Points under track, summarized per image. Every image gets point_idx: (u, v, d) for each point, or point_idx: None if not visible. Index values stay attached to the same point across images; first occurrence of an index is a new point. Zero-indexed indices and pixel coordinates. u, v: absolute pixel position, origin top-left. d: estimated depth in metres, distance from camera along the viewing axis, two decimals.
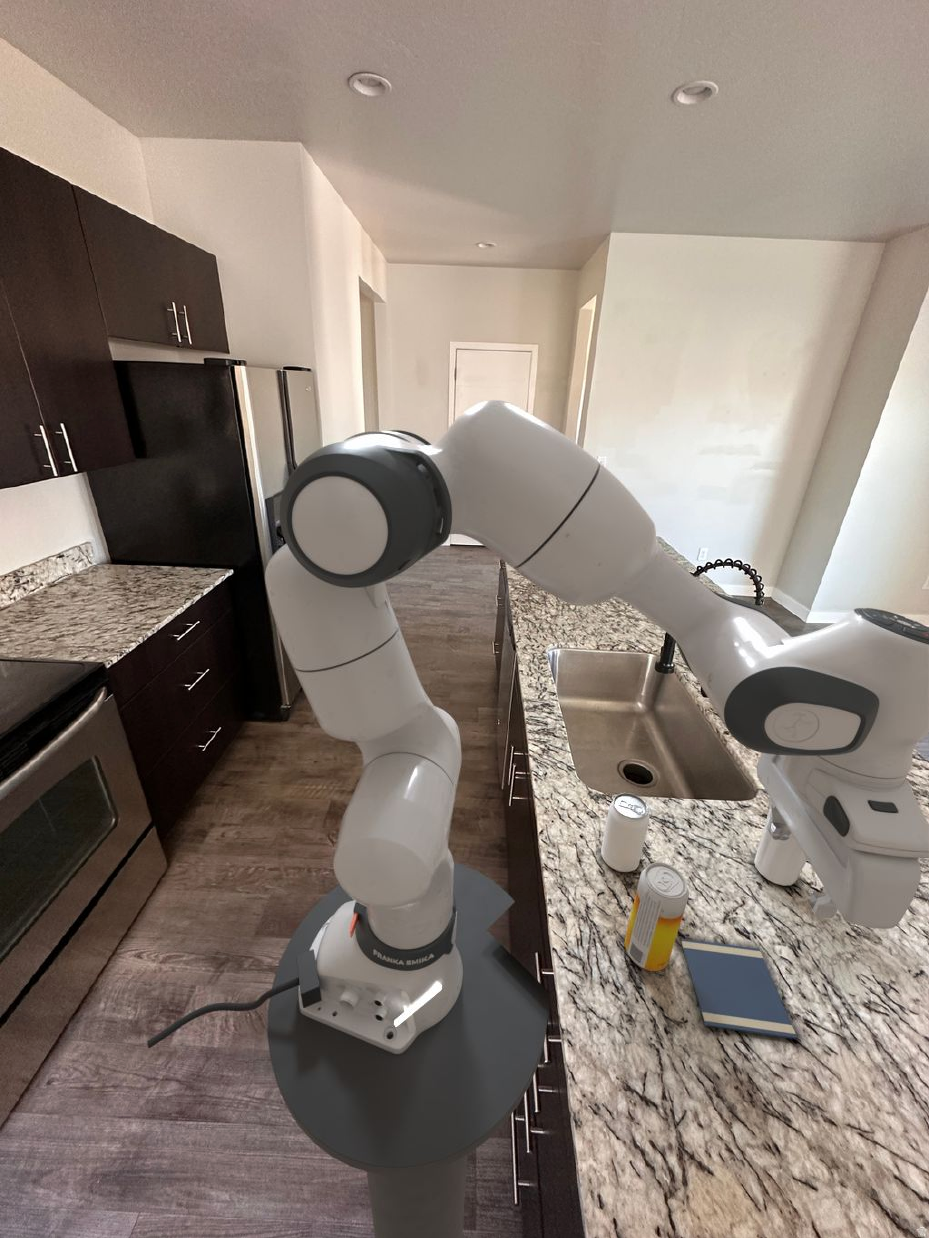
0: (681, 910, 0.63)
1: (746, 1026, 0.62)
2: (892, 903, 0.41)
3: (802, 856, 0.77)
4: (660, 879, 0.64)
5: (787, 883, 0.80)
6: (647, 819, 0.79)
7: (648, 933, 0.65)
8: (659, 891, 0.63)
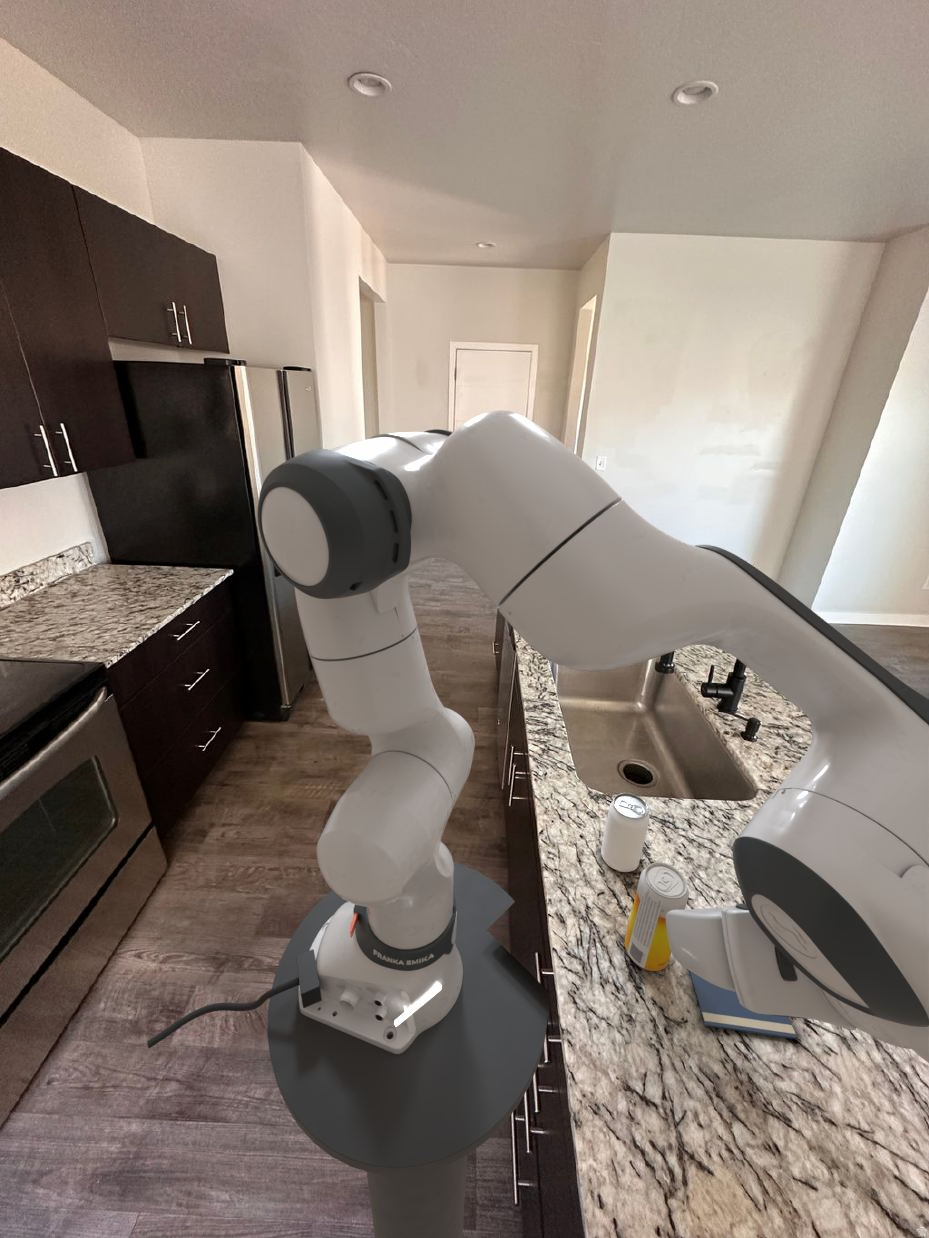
0: None
1: (746, 1026, 0.62)
2: (686, 950, 0.40)
3: None
4: (660, 879, 0.64)
5: None
6: (647, 819, 0.79)
7: (648, 933, 0.65)
8: (659, 891, 0.63)
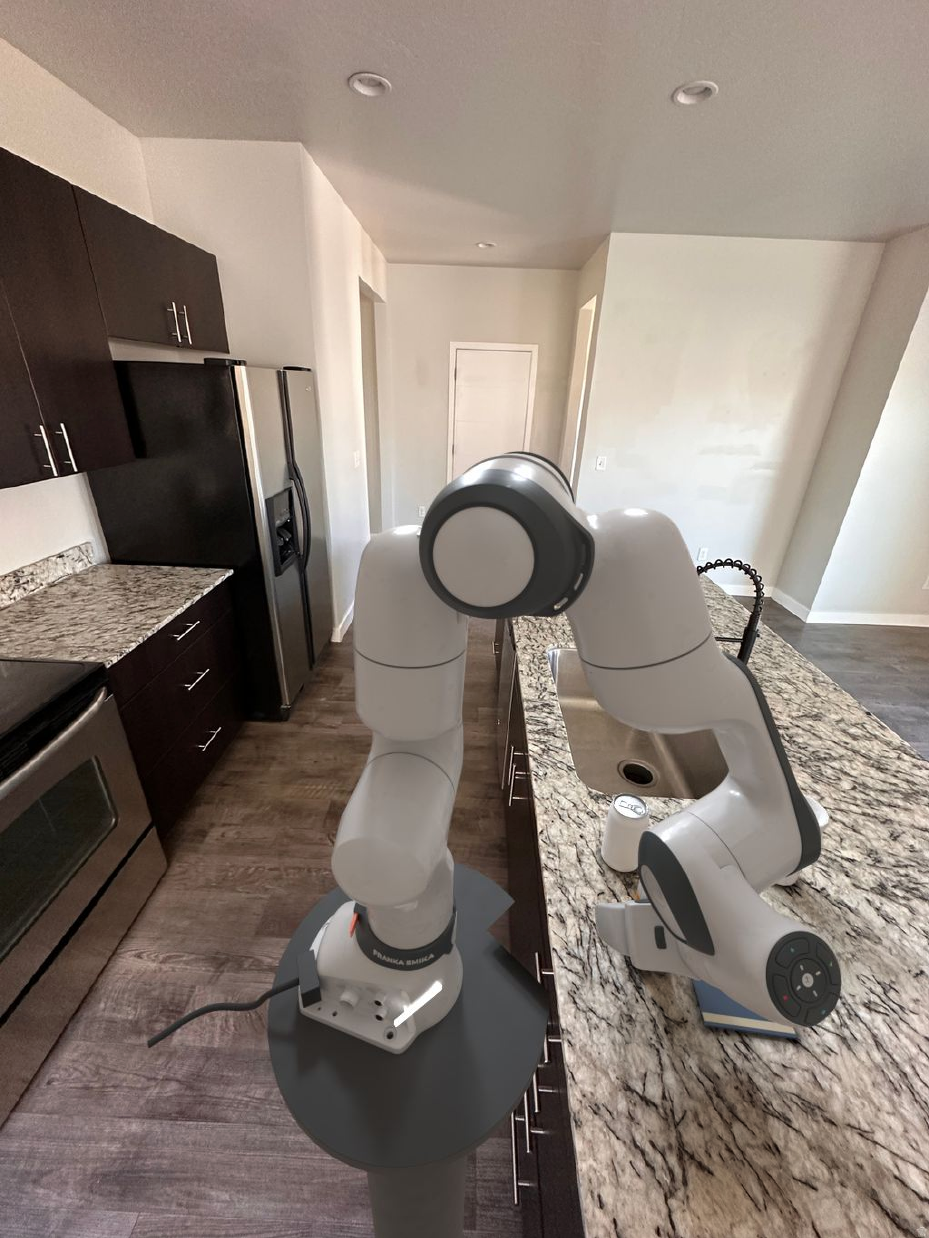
0: None
1: (746, 1026, 0.62)
2: (604, 930, 0.59)
3: None
4: None
5: (787, 883, 0.80)
6: (647, 819, 0.79)
7: None
8: None
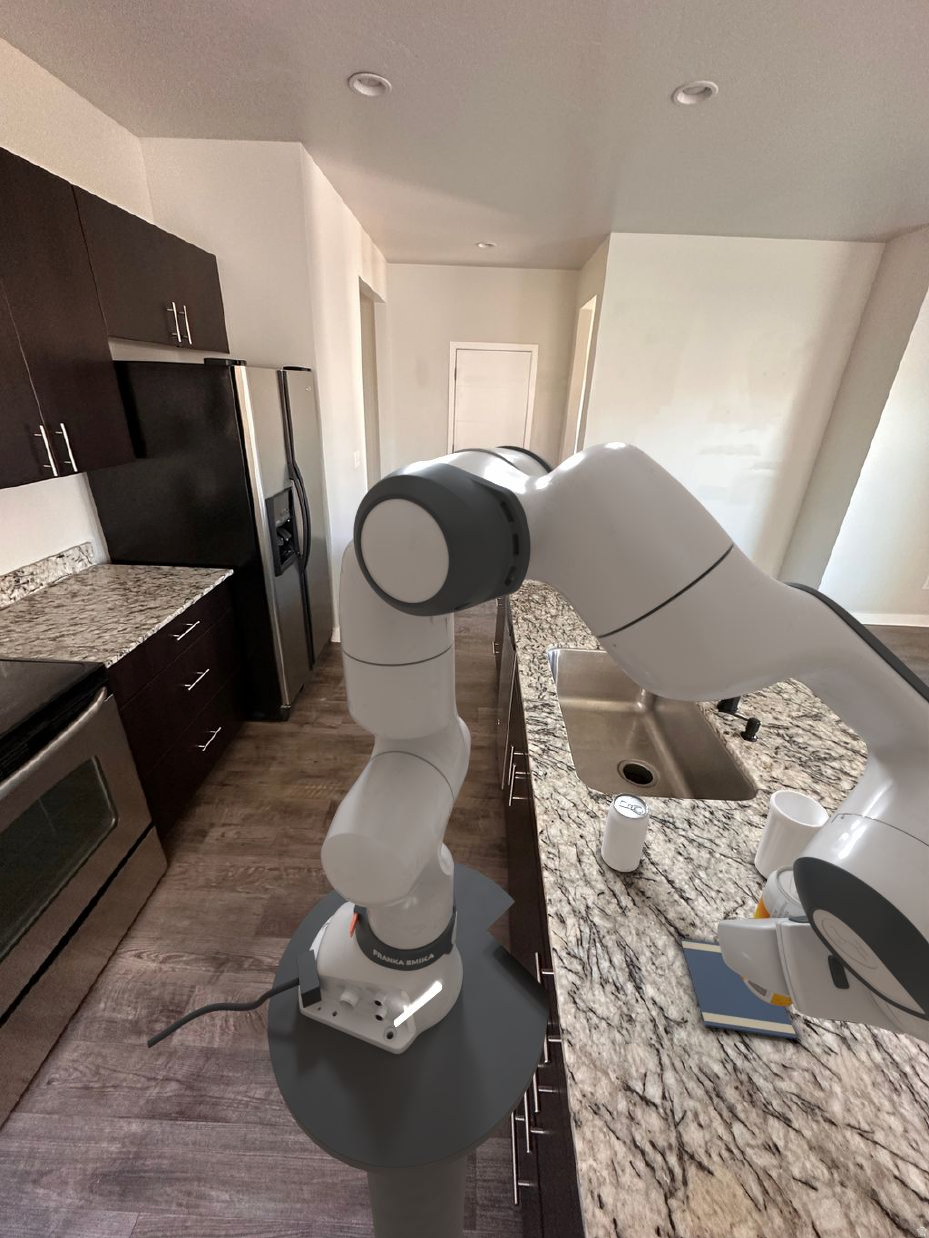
0: None
1: (746, 1026, 0.62)
2: (739, 958, 0.43)
3: None
4: None
5: None
6: (647, 819, 0.79)
7: None
8: None
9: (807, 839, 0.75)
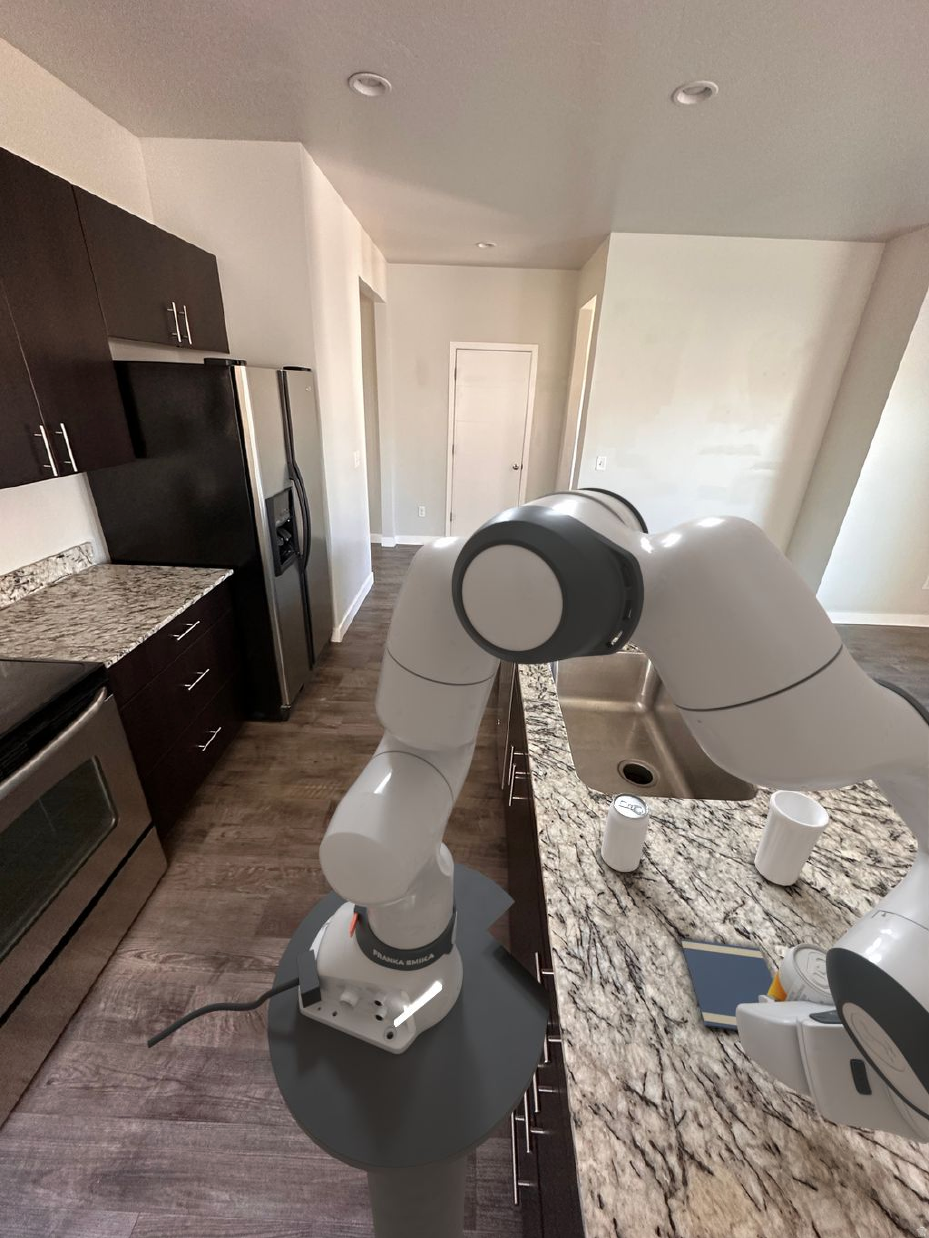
0: None
1: None
2: (759, 1049, 0.44)
3: (802, 856, 0.77)
4: (816, 969, 0.49)
5: (787, 883, 0.80)
6: (647, 819, 0.79)
7: None
8: (818, 987, 0.48)
9: (807, 839, 0.75)
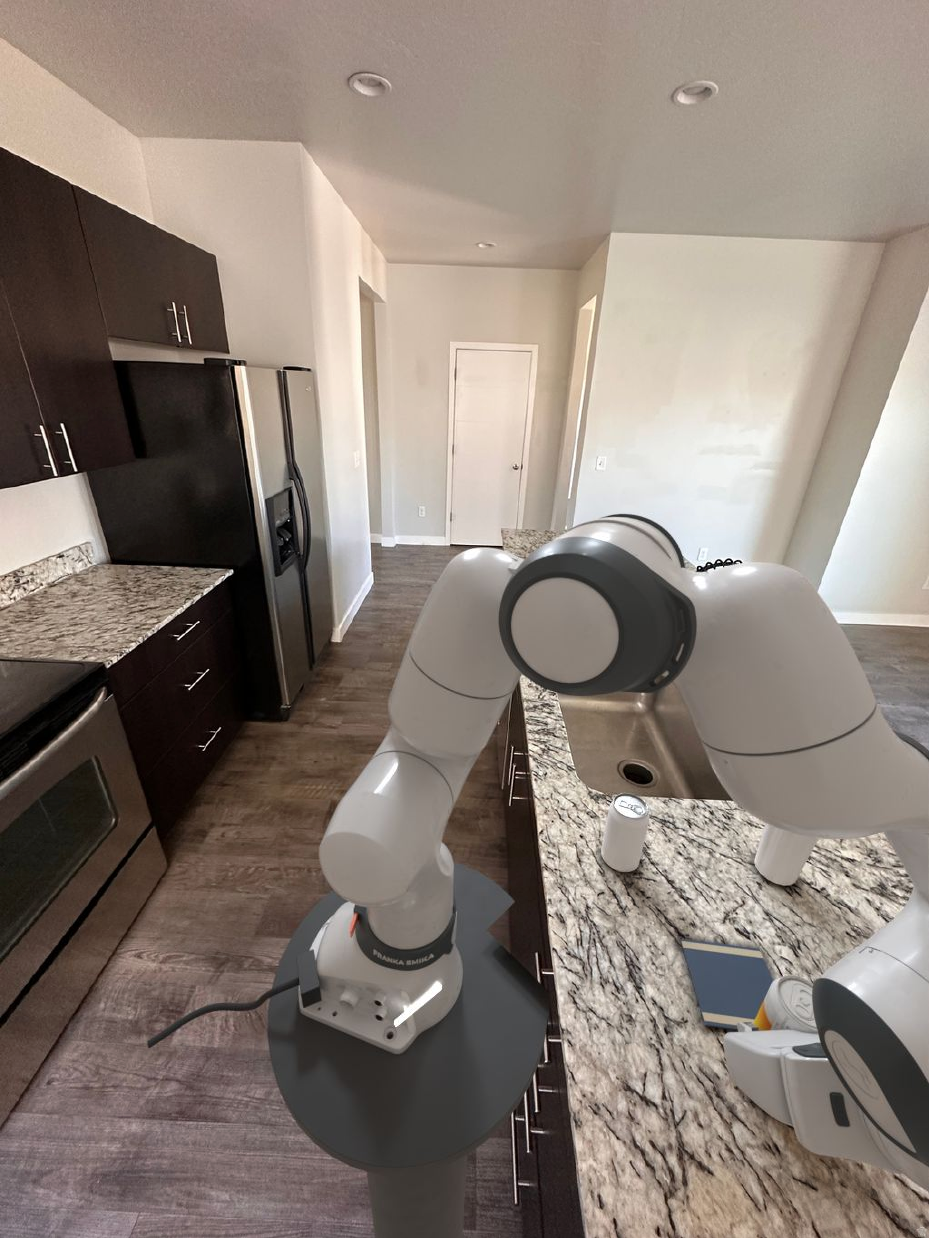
0: None
1: None
2: (745, 1078, 0.46)
3: (802, 856, 0.77)
4: (799, 1001, 0.51)
5: (787, 883, 0.80)
6: (647, 819, 0.79)
7: None
8: (801, 1019, 0.50)
9: (807, 839, 0.75)
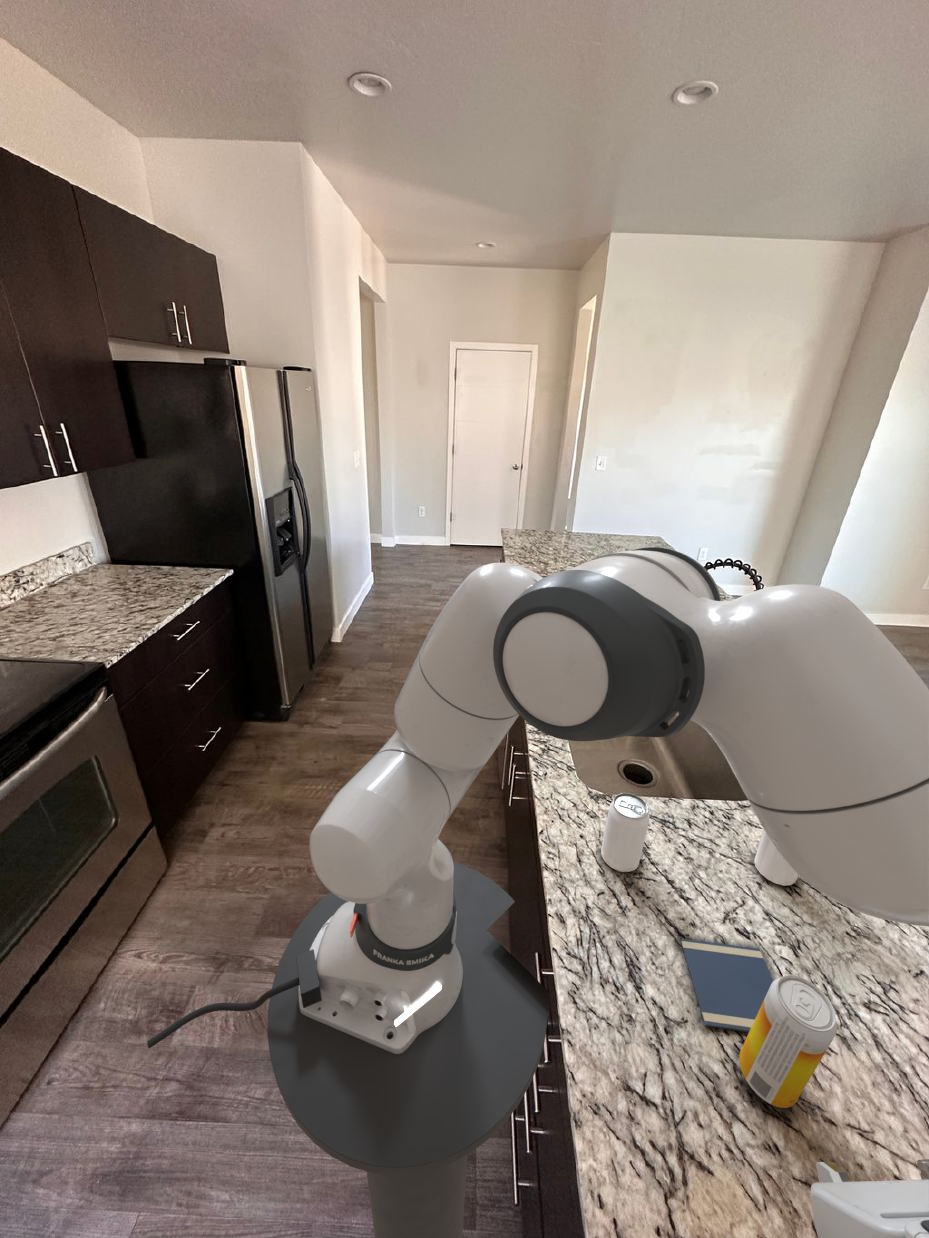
0: (829, 1044, 0.50)
1: (746, 1026, 0.62)
2: None
3: None
4: (799, 1001, 0.51)
5: (787, 883, 0.80)
6: (647, 819, 0.79)
7: (782, 1067, 0.52)
8: (801, 1019, 0.50)
9: None
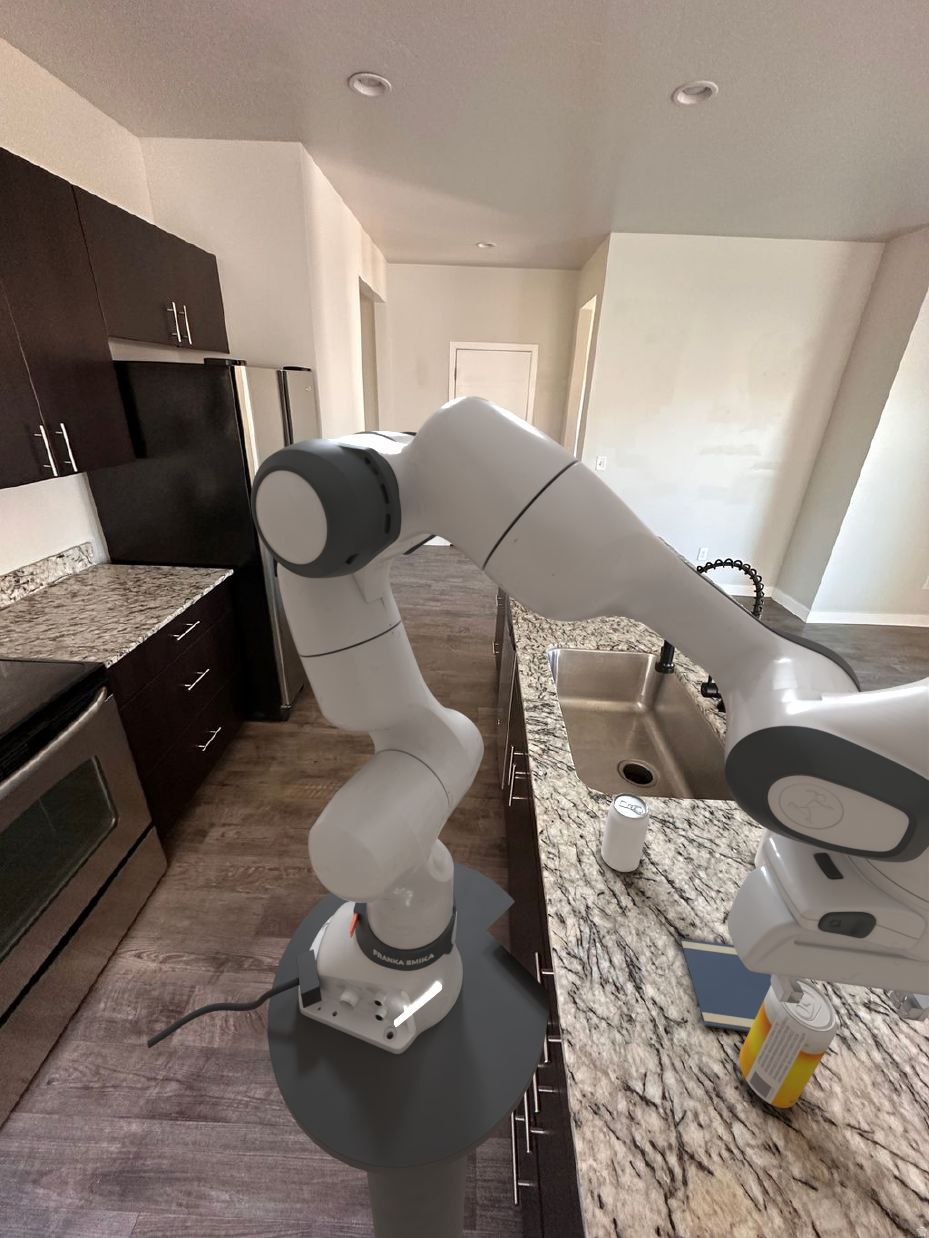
0: (829, 1044, 0.50)
1: (746, 1026, 0.62)
2: (747, 926, 0.37)
3: None
4: None
5: None
6: (647, 819, 0.79)
7: (782, 1067, 0.52)
8: (801, 1019, 0.50)
9: None
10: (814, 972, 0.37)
